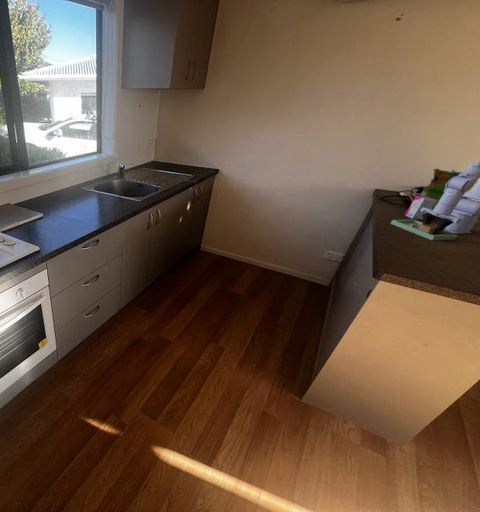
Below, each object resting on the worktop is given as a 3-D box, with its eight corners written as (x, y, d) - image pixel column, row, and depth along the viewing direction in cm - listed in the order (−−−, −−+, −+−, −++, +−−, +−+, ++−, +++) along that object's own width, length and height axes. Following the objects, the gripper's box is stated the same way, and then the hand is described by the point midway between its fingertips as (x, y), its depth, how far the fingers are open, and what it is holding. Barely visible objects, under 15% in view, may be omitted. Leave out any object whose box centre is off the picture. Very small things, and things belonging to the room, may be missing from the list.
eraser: (430, 230, 140) (435, 223, 138) (441, 234, 136) (446, 227, 134) (416, 231, 139) (420, 224, 137) (426, 235, 135) (430, 228, 133)
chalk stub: (417, 224, 143) (417, 226, 143) (414, 224, 144) (414, 226, 144) (412, 224, 142) (412, 226, 142) (409, 224, 144) (409, 226, 144)
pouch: (446, 219, 155) (477, 172, 143) (428, 219, 154) (457, 172, 141) (423, 211, 165) (450, 167, 152) (405, 212, 163) (431, 167, 151)
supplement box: (424, 220, 152) (437, 199, 147) (411, 219, 153) (423, 198, 148) (416, 216, 157) (428, 196, 152) (403, 215, 158) (415, 195, 153)
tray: (411, 223, 149) (413, 219, 148) (455, 239, 132) (458, 235, 131) (390, 223, 148) (392, 219, 147) (431, 240, 131) (434, 236, 130)
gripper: (422, 198, 136) (406, 225, 143) (458, 209, 123) (439, 238, 130) (435, 198, 137) (418, 224, 143) (472, 209, 124) (453, 237, 131)
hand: (429, 231), depth 137 cm, fingers closed on eraser, 4 cm apart
